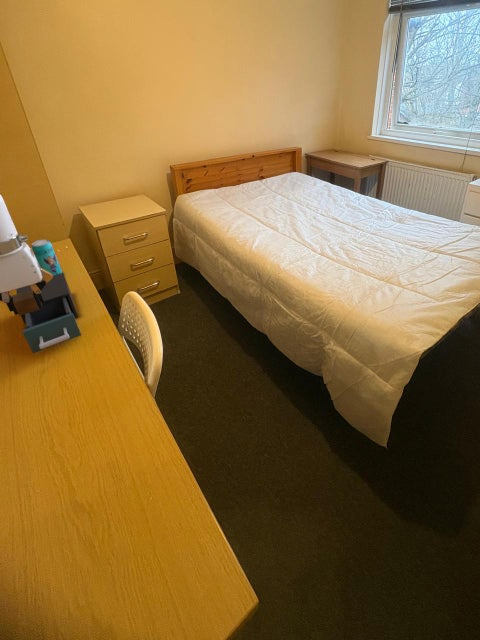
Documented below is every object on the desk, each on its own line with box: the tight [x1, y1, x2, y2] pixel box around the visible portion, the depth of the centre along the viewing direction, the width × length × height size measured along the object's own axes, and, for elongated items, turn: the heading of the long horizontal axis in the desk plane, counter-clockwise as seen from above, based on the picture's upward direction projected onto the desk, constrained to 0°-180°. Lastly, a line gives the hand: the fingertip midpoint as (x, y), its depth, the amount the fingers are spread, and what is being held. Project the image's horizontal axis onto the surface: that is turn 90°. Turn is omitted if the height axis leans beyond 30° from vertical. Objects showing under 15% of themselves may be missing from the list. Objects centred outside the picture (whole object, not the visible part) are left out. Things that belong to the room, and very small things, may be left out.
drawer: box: [22, 297, 82, 354], centre depth 93 cm, size 18×11×8 cm, turn 39°
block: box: [12, 290, 39, 317], centre depth 80 cm, size 4×4×4 cm
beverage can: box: [31, 238, 63, 275], centre depth 119 cm, size 6×6×15 cm
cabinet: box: [15, 272, 79, 327], centre depth 102 cm, size 15×13×10 cm
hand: (28, 307), depth 81 cm, fingers closed on block, 4 cm apart
